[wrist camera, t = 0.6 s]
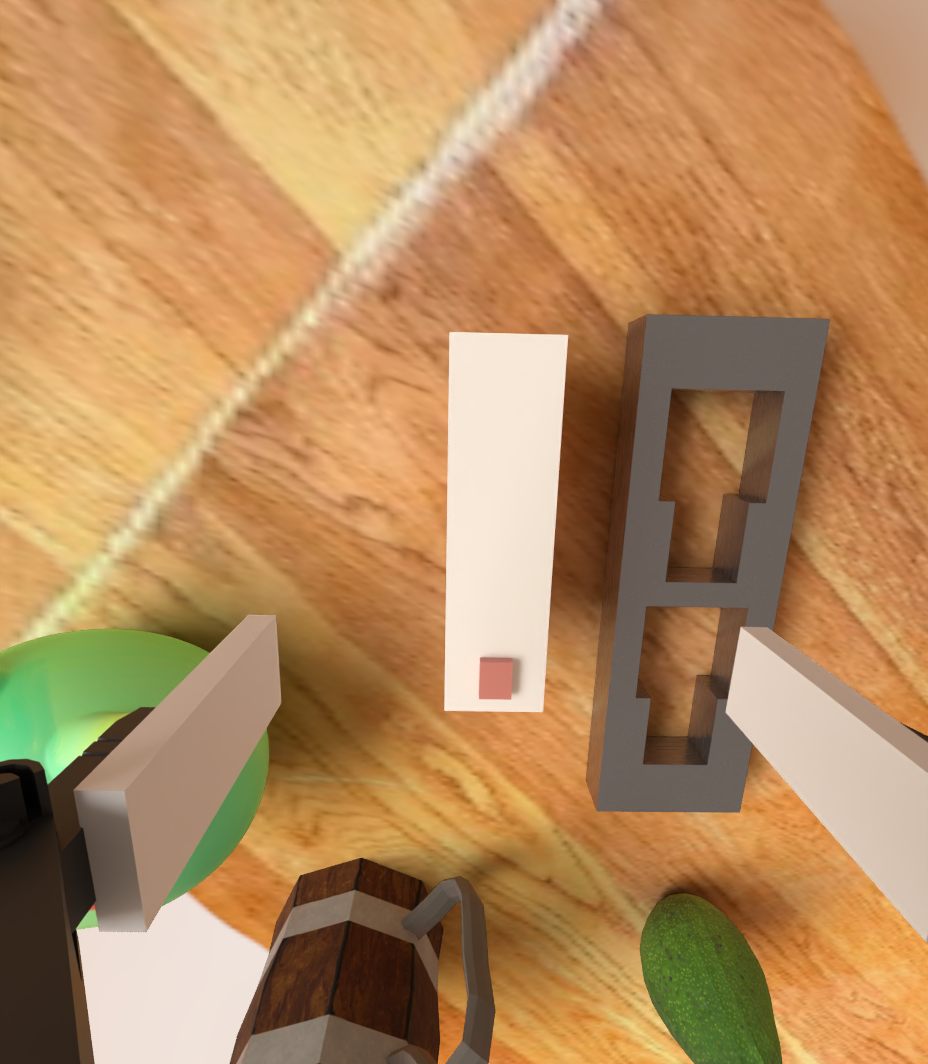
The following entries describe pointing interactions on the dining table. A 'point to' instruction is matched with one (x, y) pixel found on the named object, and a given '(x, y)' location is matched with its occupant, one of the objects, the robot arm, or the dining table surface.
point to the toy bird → (112, 718)
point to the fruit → (707, 984)
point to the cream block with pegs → (501, 516)
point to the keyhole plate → (733, 583)
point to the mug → (366, 973)
